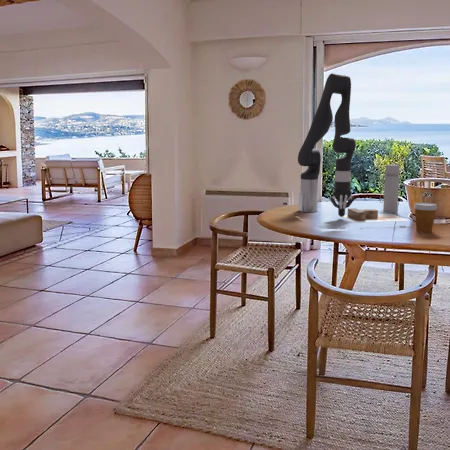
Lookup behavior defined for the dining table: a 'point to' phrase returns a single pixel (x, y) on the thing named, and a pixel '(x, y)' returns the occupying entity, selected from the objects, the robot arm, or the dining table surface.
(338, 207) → the robot arm
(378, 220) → the board
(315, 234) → the dining table surface
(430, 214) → the disposable coffee cup
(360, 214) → the tee block
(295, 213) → the dining table surface
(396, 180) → the water bottle
